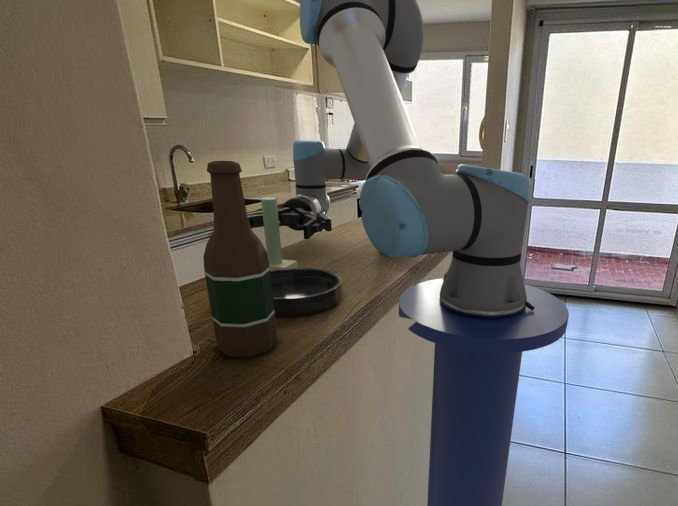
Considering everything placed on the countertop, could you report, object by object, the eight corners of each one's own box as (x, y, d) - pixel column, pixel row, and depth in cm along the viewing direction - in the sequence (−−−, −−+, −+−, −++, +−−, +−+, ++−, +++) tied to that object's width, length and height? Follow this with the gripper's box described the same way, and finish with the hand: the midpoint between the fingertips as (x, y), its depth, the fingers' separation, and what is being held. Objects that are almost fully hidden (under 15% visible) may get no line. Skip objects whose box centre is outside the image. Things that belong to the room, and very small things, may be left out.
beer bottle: (289, 340, 63) (272, 161, 54) (249, 364, 57) (222, 165, 47) (247, 329, 66) (224, 158, 57) (204, 351, 59) (170, 161, 50)
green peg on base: (297, 272, 92) (291, 197, 86) (286, 279, 88) (279, 201, 82) (266, 269, 93) (258, 195, 88) (253, 276, 89) (244, 199, 83)
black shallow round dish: (354, 288, 84) (354, 272, 82) (319, 322, 69) (318, 303, 68) (275, 280, 87) (273, 264, 85) (225, 311, 72) (222, 292, 71)
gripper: (354, 229, 107) (335, 252, 88) (251, 225, 108) (210, 247, 88) (353, 197, 104) (333, 214, 85) (247, 194, 105) (204, 209, 85)
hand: (270, 231), depth 86 cm, fingers open, 13 cm apart
